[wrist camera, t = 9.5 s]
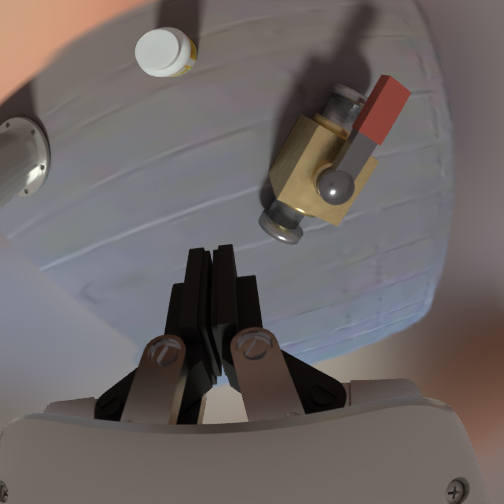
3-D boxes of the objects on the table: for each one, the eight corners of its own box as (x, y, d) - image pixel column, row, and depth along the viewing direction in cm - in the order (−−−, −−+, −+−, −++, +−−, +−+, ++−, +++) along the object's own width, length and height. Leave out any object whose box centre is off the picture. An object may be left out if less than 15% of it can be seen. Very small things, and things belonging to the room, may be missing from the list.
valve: (299, 228, 42) (314, 265, 35) (249, 208, 40) (254, 244, 32) (371, 109, 32) (407, 122, 25) (321, 77, 30) (347, 79, 22)
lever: (337, 203, 30) (343, 211, 28) (309, 190, 29) (314, 197, 27) (404, 92, 23) (413, 95, 21) (378, 72, 22) (387, 73, 20)
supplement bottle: (184, 83, 29) (167, 86, 21) (145, 67, 27) (117, 66, 20) (206, 45, 27) (198, 34, 19) (167, 29, 25) (145, 15, 17)
